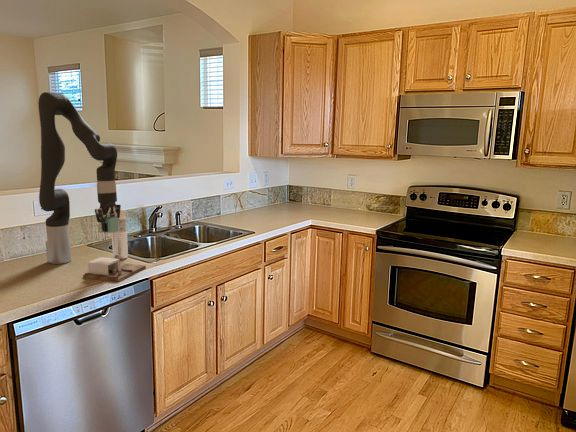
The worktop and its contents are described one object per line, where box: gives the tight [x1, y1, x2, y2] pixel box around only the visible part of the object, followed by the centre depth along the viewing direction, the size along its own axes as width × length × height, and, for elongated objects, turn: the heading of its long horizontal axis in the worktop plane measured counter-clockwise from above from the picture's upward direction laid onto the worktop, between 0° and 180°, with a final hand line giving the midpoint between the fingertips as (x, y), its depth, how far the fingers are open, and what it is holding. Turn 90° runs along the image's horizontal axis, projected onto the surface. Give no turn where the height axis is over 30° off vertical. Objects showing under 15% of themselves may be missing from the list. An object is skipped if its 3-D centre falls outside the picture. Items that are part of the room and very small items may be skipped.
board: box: [82, 254, 147, 283], centre depth 187 cm, size 17×19×6 cm
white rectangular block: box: [87, 256, 120, 276], centre depth 183 cm, size 9×8×5 cm
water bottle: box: [111, 209, 129, 260], centre depth 208 cm, size 7×7×25 cm
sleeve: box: [99, 216, 119, 234], centre depth 188 cm, size 5×5×6 cm
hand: (109, 230), depth 189 cm, fingers closed on sleeve, 5 cm apart
